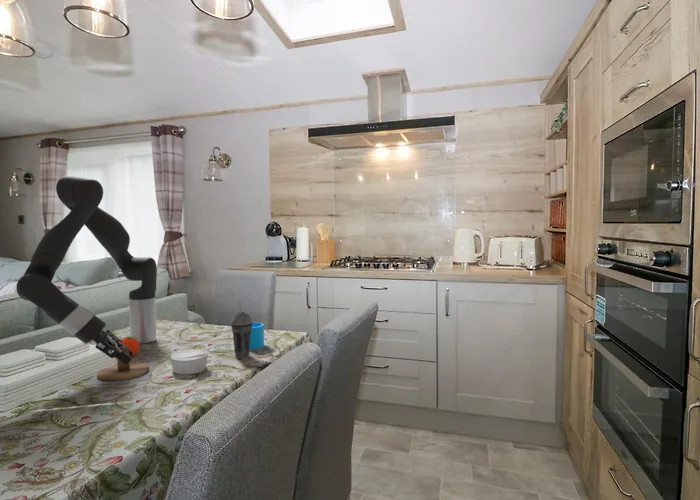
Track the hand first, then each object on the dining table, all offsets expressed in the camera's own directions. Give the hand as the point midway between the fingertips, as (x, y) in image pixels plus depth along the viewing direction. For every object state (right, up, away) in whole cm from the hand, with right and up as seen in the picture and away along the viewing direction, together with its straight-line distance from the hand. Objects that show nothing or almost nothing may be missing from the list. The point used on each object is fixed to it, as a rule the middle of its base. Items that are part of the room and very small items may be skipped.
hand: (129, 358), depth 125 cm
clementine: (-9, -4, +17) cm, 20 cm away
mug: (+30, -3, +32) cm, 44 cm away
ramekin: (+17, -5, +3) cm, 18 cm away
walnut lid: (-2, -4, -1) cm, 5 cm away
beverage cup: (+30, -4, +17) cm, 35 cm away
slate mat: (-2, -5, 0) cm, 5 cm away
